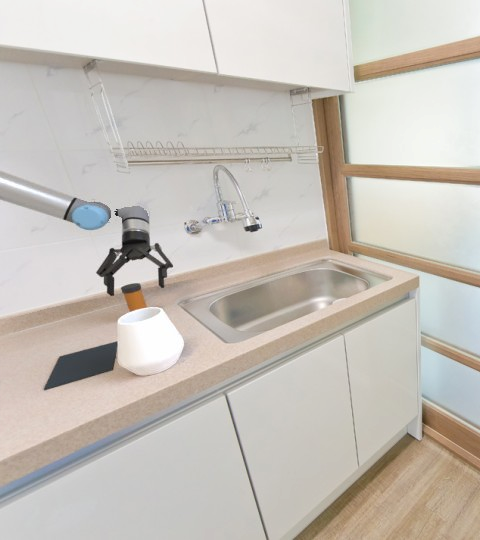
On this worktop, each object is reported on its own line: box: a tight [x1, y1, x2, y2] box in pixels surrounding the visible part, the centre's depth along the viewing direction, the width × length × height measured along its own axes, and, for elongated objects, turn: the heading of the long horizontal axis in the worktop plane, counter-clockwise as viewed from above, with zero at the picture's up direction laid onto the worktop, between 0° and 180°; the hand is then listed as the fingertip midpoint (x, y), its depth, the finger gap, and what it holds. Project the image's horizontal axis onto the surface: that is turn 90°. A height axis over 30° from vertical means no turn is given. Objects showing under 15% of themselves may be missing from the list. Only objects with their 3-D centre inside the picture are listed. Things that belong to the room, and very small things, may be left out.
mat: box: [43, 340, 118, 391], centre depth 84 cm, size 16×12×1 cm
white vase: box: [116, 306, 185, 377], centre depth 81 cm, size 13×13×14 cm
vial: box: [120, 282, 148, 312], centre depth 105 cm, size 5×5×12 cm
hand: (136, 290), depth 107 cm, fingers open, 13 cm apart
